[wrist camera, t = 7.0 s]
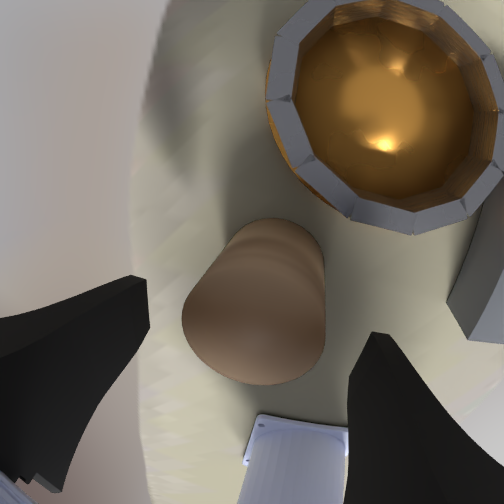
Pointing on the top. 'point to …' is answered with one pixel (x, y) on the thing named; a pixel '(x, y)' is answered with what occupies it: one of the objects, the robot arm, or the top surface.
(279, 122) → the ring
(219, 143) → the top surface
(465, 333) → the switch box
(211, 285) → the brown tapered cylinder
